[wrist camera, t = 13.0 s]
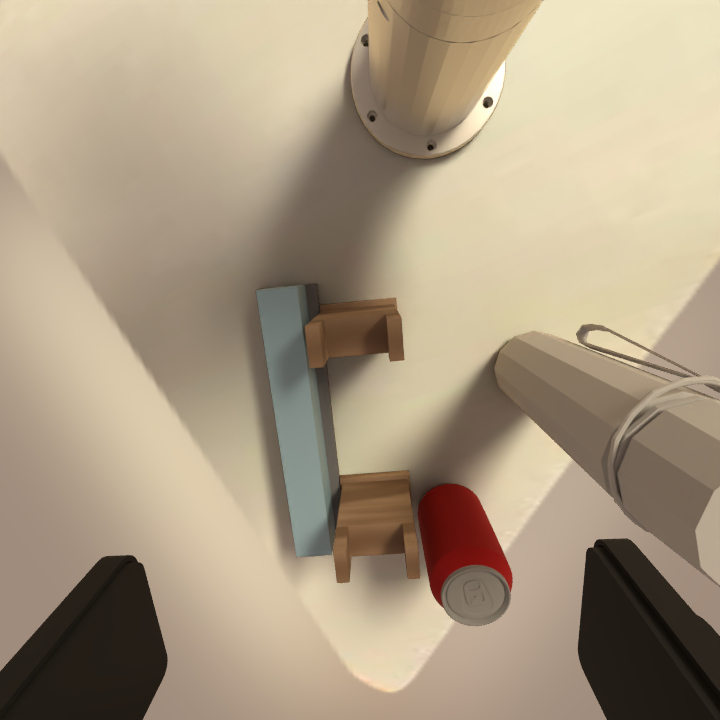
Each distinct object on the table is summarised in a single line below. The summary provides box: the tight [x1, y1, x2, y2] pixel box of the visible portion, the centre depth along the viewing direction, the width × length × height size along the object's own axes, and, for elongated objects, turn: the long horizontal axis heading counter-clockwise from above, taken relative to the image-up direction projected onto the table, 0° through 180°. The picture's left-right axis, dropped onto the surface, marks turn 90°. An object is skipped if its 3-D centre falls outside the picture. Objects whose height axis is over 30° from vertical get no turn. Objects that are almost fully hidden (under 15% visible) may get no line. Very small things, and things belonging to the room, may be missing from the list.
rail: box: [256, 284, 335, 557], centre depth 39 cm, size 26×4×4 cm, turn 6°
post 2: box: [333, 471, 420, 583], centre depth 37 cm, size 4×7×11 cm, turn 95°
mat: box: [257, 284, 341, 529], centre depth 41 cm, size 26×6×1 cm, turn 5°
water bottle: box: [494, 324, 720, 587], centre depth 27 cm, size 9×8×25 cm
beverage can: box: [418, 484, 512, 626], centre depth 37 cm, size 7×7×12 cm
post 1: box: [305, 298, 404, 368], centre depth 33 cm, size 4×7×11 cm, turn 95°
